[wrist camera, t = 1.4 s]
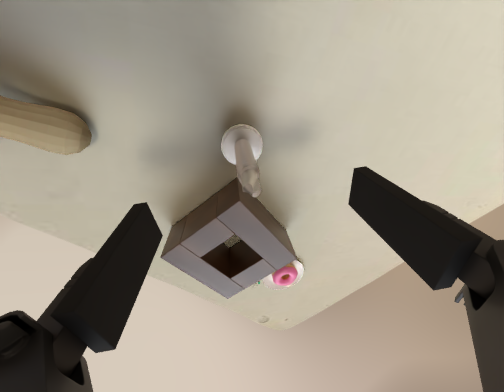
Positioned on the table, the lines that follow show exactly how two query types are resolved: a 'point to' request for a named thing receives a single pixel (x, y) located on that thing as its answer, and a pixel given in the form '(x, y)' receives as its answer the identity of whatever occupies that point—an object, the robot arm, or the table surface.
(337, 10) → the table surface
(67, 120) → the decorative mushroom
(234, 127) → the screw
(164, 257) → the holder
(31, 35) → the table surface
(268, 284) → the donut
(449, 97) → the table surface
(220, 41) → the table surface
